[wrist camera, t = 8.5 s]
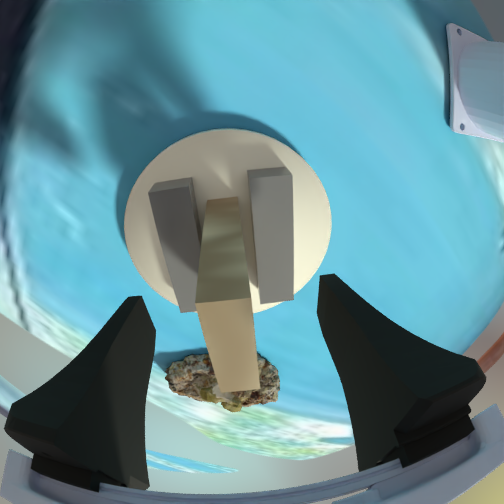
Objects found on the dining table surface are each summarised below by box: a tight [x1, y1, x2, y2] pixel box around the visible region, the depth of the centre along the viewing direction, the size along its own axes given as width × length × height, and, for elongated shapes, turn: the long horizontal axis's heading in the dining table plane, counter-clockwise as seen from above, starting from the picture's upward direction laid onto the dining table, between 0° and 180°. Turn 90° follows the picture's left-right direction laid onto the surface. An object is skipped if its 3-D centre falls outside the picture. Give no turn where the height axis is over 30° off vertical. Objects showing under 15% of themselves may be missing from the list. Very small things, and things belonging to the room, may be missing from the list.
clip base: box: [124, 128, 331, 313], centre depth 16 cm, size 12×12×2 cm
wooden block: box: [195, 197, 260, 392], centre depth 13 cm, size 2×5×8 cm, turn 4°
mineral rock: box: [165, 354, 280, 412], centre depth 24 cm, size 11×4×8 cm
